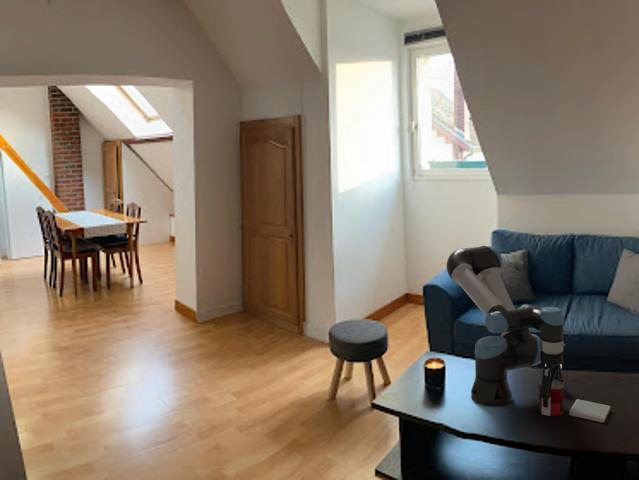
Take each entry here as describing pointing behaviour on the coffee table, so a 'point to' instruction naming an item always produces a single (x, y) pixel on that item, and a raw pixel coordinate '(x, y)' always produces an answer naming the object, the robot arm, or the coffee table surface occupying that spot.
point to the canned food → (555, 398)
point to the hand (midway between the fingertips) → (551, 407)
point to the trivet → (590, 410)
